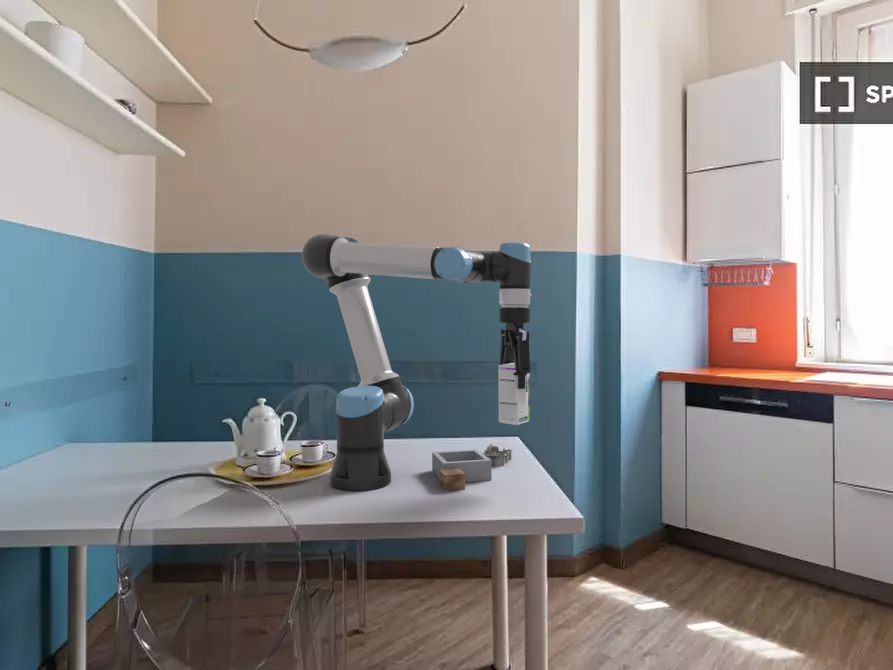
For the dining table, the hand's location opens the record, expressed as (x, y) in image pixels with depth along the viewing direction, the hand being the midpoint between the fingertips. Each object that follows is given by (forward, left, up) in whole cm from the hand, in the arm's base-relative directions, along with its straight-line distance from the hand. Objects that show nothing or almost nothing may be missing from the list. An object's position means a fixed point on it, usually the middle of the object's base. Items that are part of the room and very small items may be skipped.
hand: (513, 399), depth 156 cm
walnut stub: (-16, +1, -21) cm, 26 cm away
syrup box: (0, 0, -6) cm, 6 cm away
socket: (-11, +11, -21) cm, 26 cm away
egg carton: (+3, +22, -21) cm, 31 cm away
